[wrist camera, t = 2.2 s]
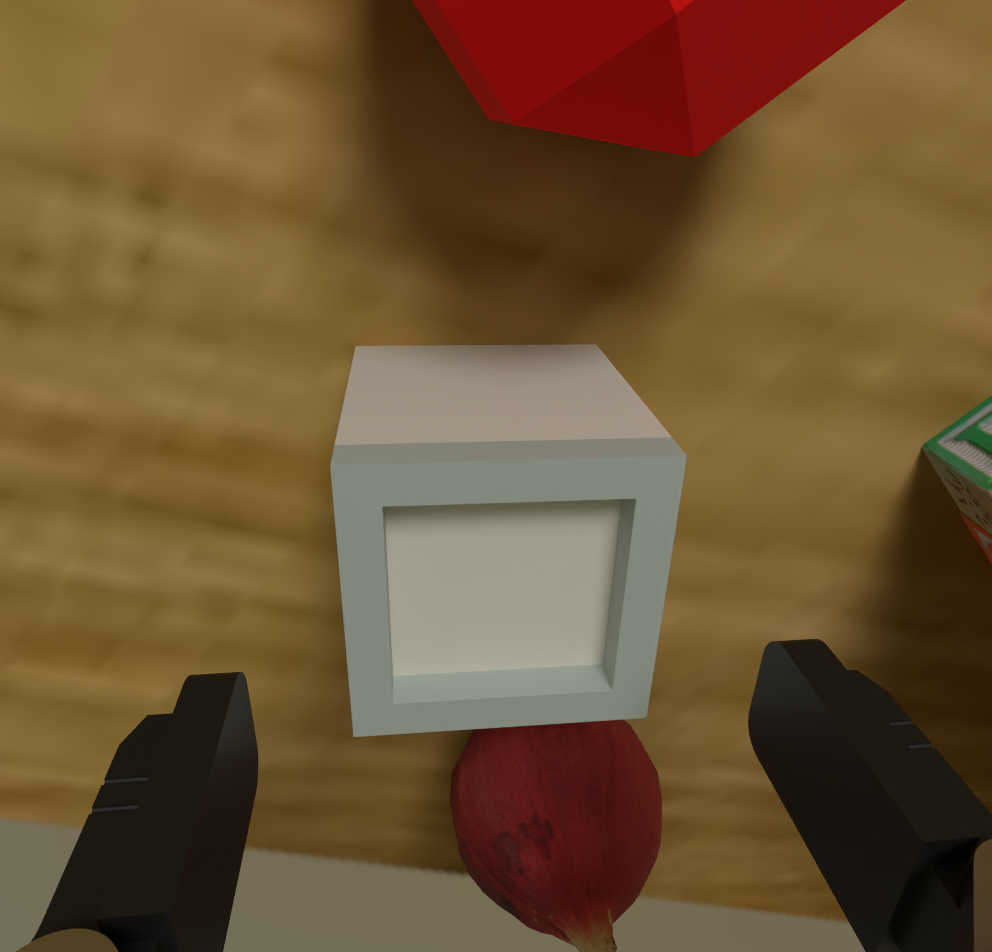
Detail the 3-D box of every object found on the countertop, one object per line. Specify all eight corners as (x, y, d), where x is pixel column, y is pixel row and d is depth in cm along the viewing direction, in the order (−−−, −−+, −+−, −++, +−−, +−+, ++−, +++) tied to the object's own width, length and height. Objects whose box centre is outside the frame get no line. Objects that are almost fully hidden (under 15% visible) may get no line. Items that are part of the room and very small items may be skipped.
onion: (456, 780, 25) (476, 1049, 18) (433, 649, 22) (447, 903, 15) (623, 754, 25) (709, 1008, 18) (620, 621, 23) (720, 856, 15)
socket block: (595, 343, 19) (686, 456, 12) (577, 545, 21) (646, 717, 15) (355, 345, 18) (329, 464, 12) (368, 552, 21) (353, 737, 14)
